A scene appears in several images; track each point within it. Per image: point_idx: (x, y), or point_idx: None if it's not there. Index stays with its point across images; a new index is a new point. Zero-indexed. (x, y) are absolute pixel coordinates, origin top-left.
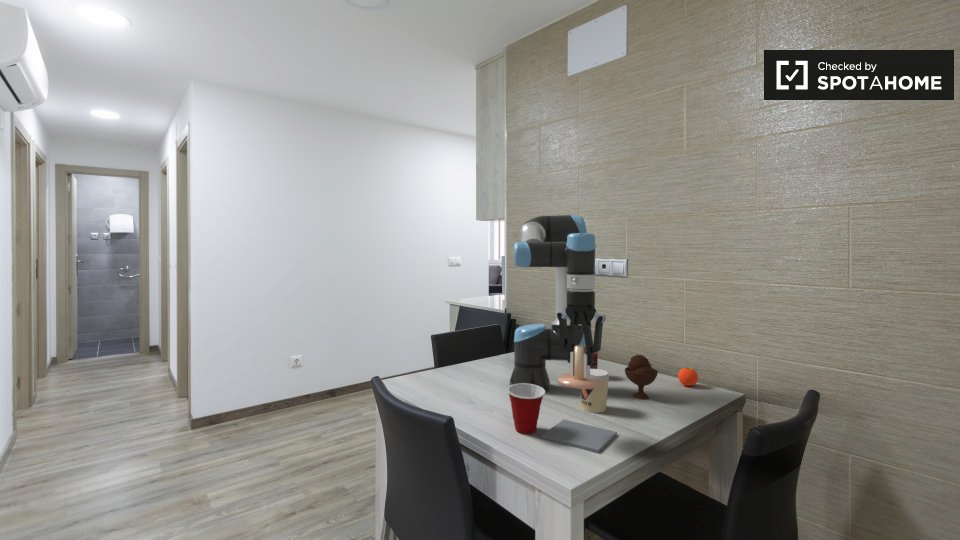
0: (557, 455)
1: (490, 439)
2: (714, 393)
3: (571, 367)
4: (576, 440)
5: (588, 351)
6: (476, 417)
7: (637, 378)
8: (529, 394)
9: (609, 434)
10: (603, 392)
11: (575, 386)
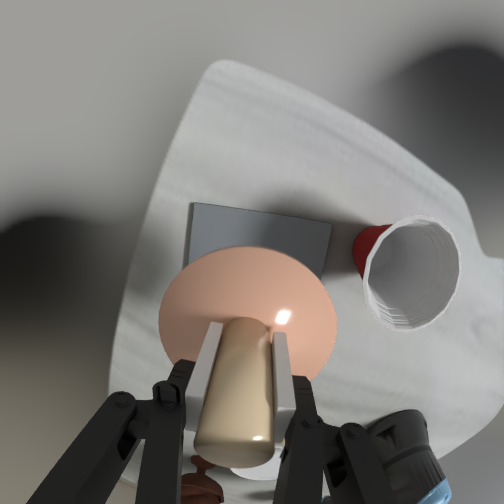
0: (271, 152)
1: (417, 172)
2: (128, 472)
3: (282, 352)
4: (250, 230)
5: (166, 403)
6: (463, 265)
7: (196, 479)
8: (403, 309)
9: None
10: None
11: (240, 246)
